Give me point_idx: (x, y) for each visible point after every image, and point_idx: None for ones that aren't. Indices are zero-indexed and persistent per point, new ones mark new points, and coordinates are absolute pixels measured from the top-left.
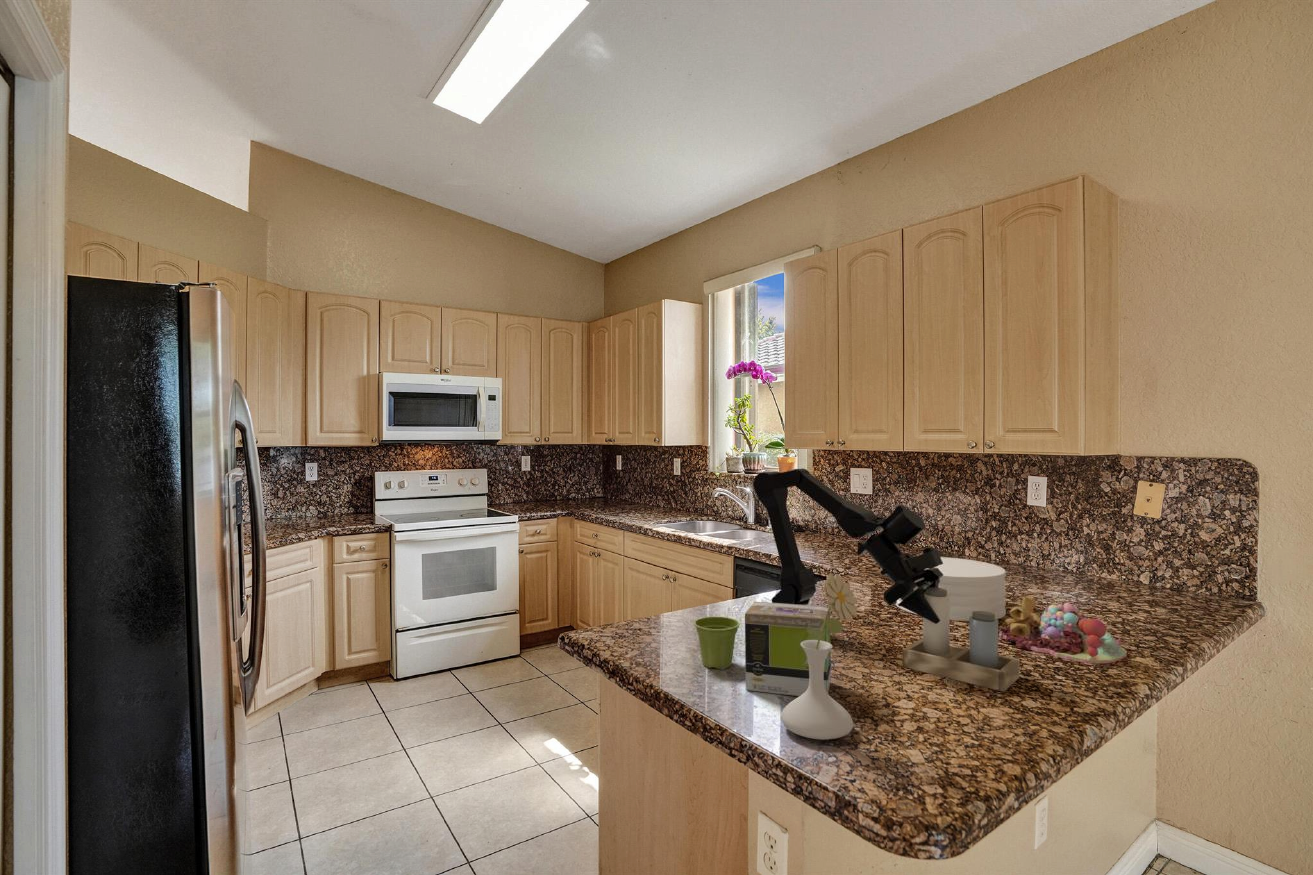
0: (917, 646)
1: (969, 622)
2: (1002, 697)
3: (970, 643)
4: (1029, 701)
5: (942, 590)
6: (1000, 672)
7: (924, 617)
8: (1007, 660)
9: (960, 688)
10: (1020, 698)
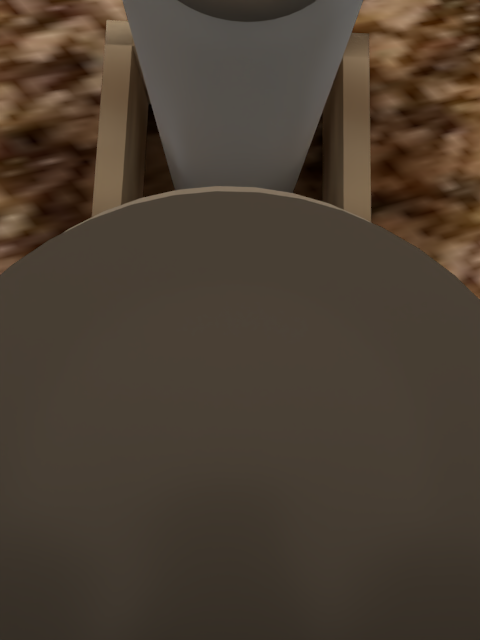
0: None
1: (290, 76)
2: (406, 87)
3: (291, 159)
4: (376, 8)
5: (190, 333)
6: (368, 50)
7: None
8: (132, 74)
9: (428, 230)
10: (369, 37)
